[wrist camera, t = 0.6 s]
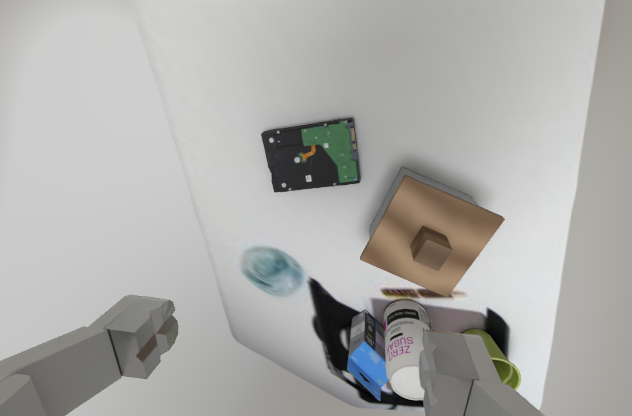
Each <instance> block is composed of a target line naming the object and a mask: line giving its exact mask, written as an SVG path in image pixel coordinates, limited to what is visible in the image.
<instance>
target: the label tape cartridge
mask: <svg viewBox="0 0 632 416" xmlns="http://www.w3.org/2000/svg"><path fill="white" fill-rule="evenodd" d="M347 370H348V371H349V372H350V373H351V374H352V375H353V376H354V377H355V378H356V379H357V380H358V381H359V382H361V383H362V384H363V385H364V386H365V387H366V388H367V389H368V390H369V391H370V392H371V393H372V394H373V395H374V396H375V397H376V398H377V399H378V400H379V401H380V394H381V387H382V386H383V385H384V384H385V383H386V382H387V381H388V379H387V374H386V356H385V336H384V328H383V327H382V326H381V325H380V324H379V323H378V322H377V321H376V320H375V319H374V318H373V317H372V316H371V315H370V314H369V313H368V312H367V311H366V310H364V311H362V312H361V313H359V314H358V315H356V316H355V317H353V318H352V327H351V338H350V349H349V359H348V367H347ZM359 372H361V373H362V374H363V375H364V376H365V377H366V378H367V379H368V380H369V381H370V384H369V383H368V382H367V381H364V380H363V377H362V376H361V375H360V374H359Z"/></svg>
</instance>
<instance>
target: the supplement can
mask: <svg viewBox="0 0 632 416" xmlns="http://www.w3.org/2000/svg"><path fill="white" fill-rule="evenodd" d="M425 330H431V327H430V323H429V319H428V315H427V313H426V311H425V309H424V308H423V307H422V306H421V305H420V304H418V303H415V302H413V301H408V300H402V301H396V302H394V303H392V304H390V305H389V306H388V307H387V308H386V309H385V312H384V336H385V356H386V374H387V379H388V380H389V382H390V384H391V386H392V388H393V389H394V391H395V392H396V393H397V394H399V395H400V396H402V397H404V398H406V399H411V400H423V399H424V393H425V391H424V390H423V388H422V387H421V385H420V379H419V357H420V352H421V351H422V350H423V349H424V347H423V342H422V338H423V333H424V331H425Z"/></svg>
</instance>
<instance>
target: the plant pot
mask: <svg viewBox="0 0 632 416" xmlns="http://www.w3.org/2000/svg"><path fill="white" fill-rule="evenodd" d="M463 334H472V335H479V336H480V337H481V338H482V340H483V342H484V344H485V346H486V348H487V351H488V353H489V355H490V357H491V359H492V362H493V364H494V366H495V368H496V370H497V373H498V375H499V377H500V379H501V381H502V383H503V384H506V385H509V386H511V387H512V388H513V389H514V390H515V391H516V390H517V388H518V387H519V385H520V382H521V375H520V372H519V370H518V369H517V368H516V366H515V365H514V364H512V363H511V362H510V361H509V360H508V359H507V358H506V357H505V356H504V355H503V353H502V352H501V351H500V349H499V348H498V346H497V345H496V343H495V342H494V341H493V339H492V338H491V336H490V335H489V334H487V333H486V332H484V331H483V330H480V329H470V330H467V331H465V332H464V333H463Z"/></svg>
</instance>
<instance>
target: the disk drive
mask: <svg viewBox="0 0 632 416" xmlns="http://www.w3.org/2000/svg"><path fill="white" fill-rule="evenodd" d="M261 136H262V140H263V144H264V148H265V153H266V158H267V162H268V167H269V169H270V172H271V173H272V175H271V176H272V185H273V189H274V192H287V191H293V190H302V189H312V188H320V187H329V186H338V185H348V184H356V183H360V170H359V161H358V153H357V144H356V136H355V128H354V119H353V118H347V119H338V120H333V121H328V122H321V123H315V124H308V125H302V126H296V127H290V128H283V129H274V130H270V131H265V132H263V133H262V134H261Z"/></svg>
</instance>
